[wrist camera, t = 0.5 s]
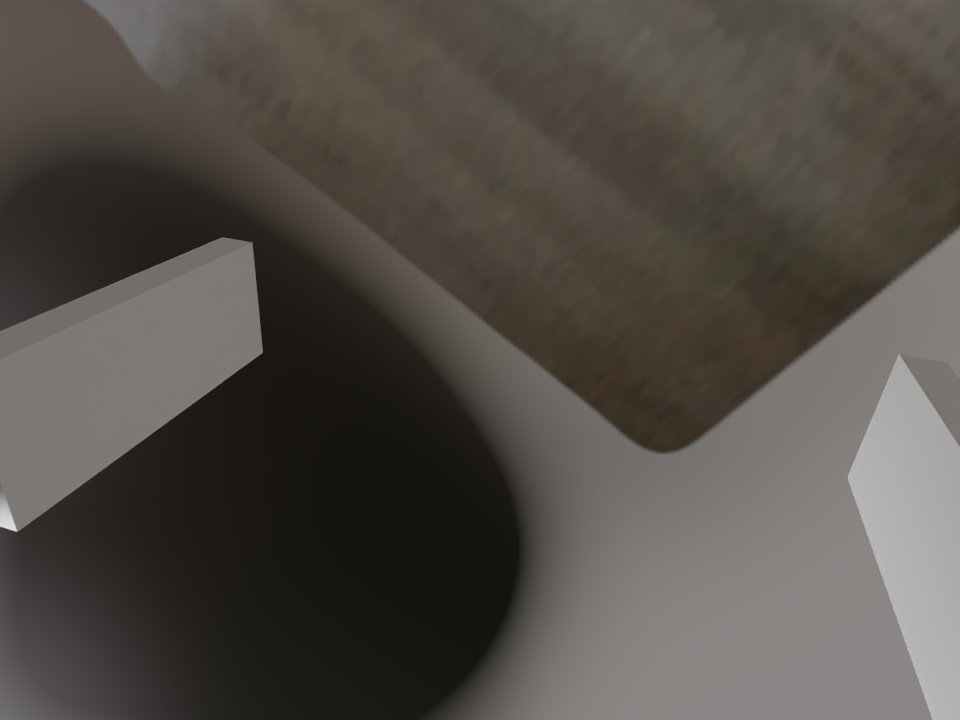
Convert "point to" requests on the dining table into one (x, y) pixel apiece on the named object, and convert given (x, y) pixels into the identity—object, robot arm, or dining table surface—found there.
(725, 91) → the dining table surface
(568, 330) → the dining table surface
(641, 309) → the dining table surface
